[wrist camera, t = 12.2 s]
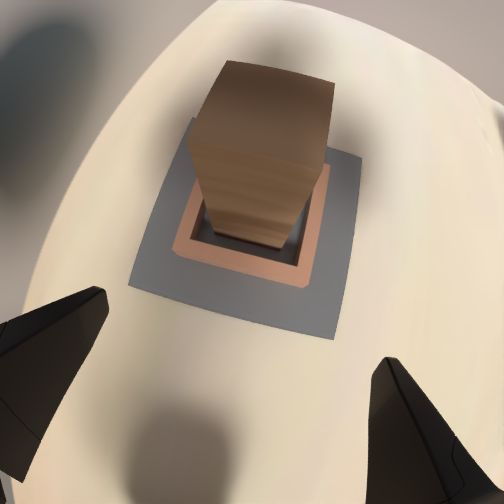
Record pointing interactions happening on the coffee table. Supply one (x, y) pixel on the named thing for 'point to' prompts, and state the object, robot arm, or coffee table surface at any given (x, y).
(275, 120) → the block
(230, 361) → the coffee table surface
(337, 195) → the holder
